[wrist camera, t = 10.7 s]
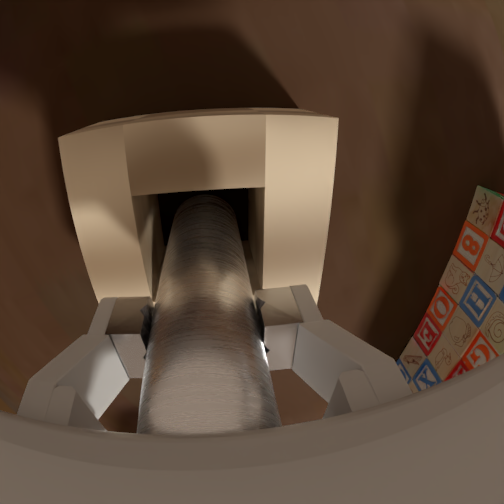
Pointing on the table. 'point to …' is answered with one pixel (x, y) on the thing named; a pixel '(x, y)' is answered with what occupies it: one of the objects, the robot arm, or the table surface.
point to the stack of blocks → (463, 302)
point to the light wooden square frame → (202, 178)
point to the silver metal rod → (205, 333)
